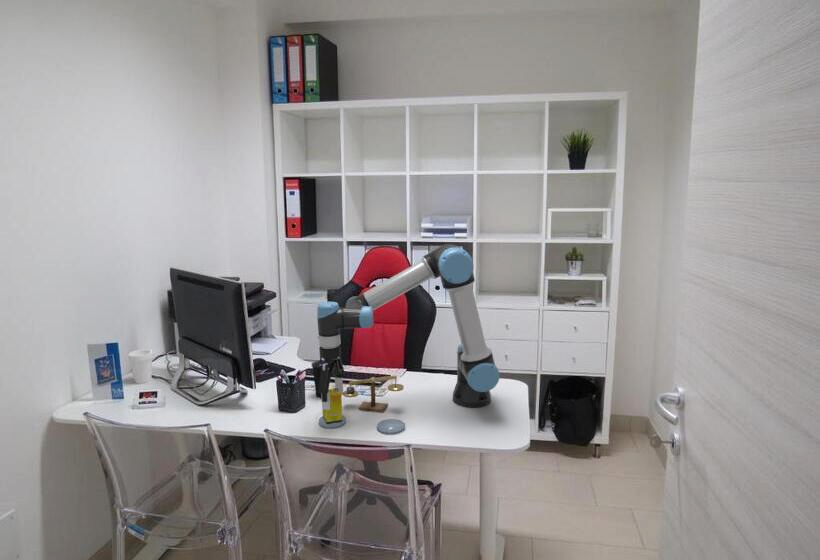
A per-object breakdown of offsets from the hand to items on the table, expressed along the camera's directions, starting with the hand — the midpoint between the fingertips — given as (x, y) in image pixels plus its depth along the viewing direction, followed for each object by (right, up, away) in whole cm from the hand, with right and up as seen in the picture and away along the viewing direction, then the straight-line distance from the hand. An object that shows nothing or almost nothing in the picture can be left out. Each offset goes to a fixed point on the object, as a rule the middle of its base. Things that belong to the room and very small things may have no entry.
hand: (333, 401), depth 209 cm
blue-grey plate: (+21, -9, -3) cm, 23 cm away
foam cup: (-89, 0, +43) cm, 99 cm away
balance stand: (+14, -5, +13) cm, 20 cm away
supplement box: (0, -7, +1) cm, 7 cm away
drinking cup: (-8, -3, +26) cm, 28 cm away
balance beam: (+14, 0, +12) cm, 19 cm away
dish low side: (0, -8, +2) cm, 8 cm away
